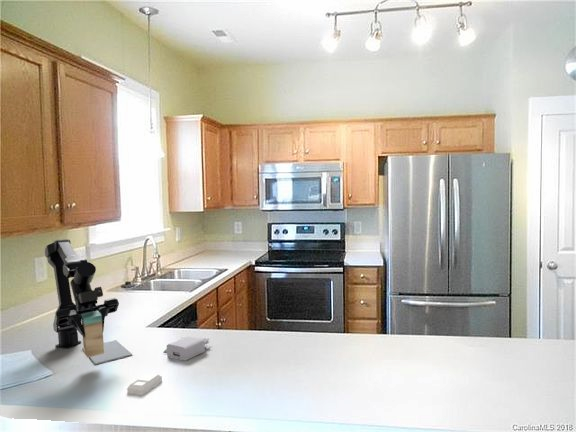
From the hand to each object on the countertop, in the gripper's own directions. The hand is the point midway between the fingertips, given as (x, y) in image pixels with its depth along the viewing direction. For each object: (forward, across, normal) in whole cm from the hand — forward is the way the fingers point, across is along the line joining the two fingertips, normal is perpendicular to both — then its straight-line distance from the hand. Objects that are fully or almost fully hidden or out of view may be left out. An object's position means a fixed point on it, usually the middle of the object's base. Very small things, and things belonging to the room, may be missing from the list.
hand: (93, 334), depth 134 cm
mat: (0, +6, +19) cm, 20 cm away
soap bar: (+25, +7, -11) cm, 28 cm away
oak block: (+4, 0, +6) cm, 7 cm away
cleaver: (+8, +27, +12) cm, 31 cm away
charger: (+15, +30, +3) cm, 33 cm away
